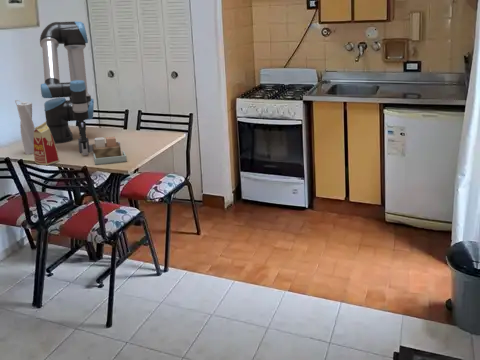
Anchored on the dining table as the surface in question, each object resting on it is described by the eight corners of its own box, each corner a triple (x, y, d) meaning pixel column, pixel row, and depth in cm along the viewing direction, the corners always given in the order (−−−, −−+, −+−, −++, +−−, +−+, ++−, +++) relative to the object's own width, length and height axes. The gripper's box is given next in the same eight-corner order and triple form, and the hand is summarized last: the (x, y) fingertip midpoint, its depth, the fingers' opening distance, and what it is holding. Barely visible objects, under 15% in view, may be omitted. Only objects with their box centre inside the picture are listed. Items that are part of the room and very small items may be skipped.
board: (94, 159, 280) (93, 149, 279) (93, 153, 290) (92, 144, 289) (121, 156, 284) (120, 147, 283) (118, 151, 294) (117, 142, 293)
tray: (95, 164, 271) (94, 158, 270) (93, 159, 280) (93, 153, 279) (126, 161, 276) (126, 155, 275) (124, 156, 285) (123, 150, 284)
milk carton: (48, 158, 282) (43, 119, 276) (60, 161, 278) (55, 121, 271) (32, 163, 275) (27, 123, 269) (44, 166, 270) (39, 125, 264)
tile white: (96, 147, 282) (95, 140, 281) (95, 145, 286) (94, 138, 285) (105, 146, 284) (104, 139, 282) (104, 144, 288) (103, 137, 286)
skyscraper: (22, 155, 289) (15, 101, 280) (21, 151, 296) (14, 98, 287) (38, 153, 292) (31, 99, 283) (37, 149, 299) (30, 97, 290)
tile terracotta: (107, 147, 283) (106, 139, 282) (106, 144, 287) (105, 137, 286) (116, 146, 285) (115, 138, 283) (115, 144, 289) (114, 136, 287)
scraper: (79, 153, 291) (78, 140, 289) (79, 151, 295) (78, 138, 293) (120, 149, 297) (119, 136, 295) (119, 147, 301) (118, 135, 299)
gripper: (71, 107, 297) (76, 146, 304) (73, 116, 275) (78, 158, 281) (86, 106, 299) (90, 145, 306) (89, 115, 277) (93, 157, 284)
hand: (84, 151), depth 294 cm, fingers open, 12 cm apart
